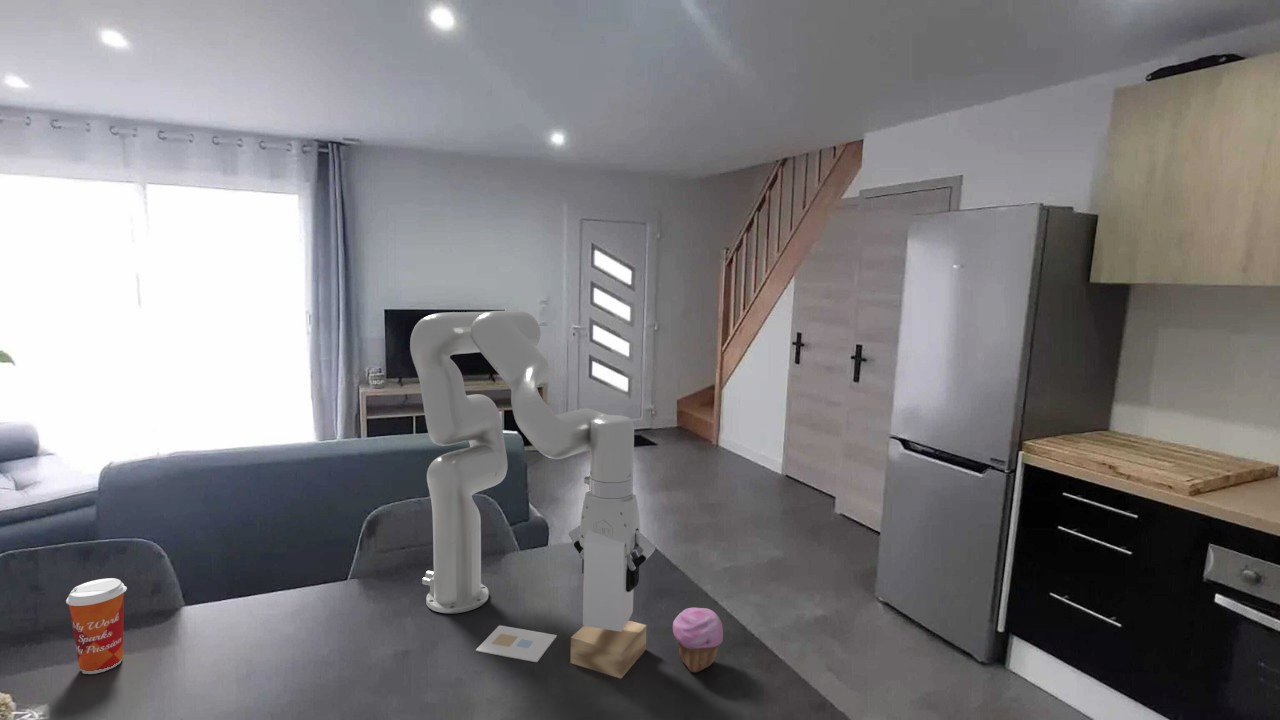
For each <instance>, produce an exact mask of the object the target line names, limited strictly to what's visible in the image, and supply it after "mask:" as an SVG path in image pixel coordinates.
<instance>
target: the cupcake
mask: <svg viewBox="0 0 1280 720" xmlns="http://www.w3.org/2000/svg"><path fill="white" fill-rule="evenodd" d="M672 633H673V635H674V638H675V640H676V641H677V644H678V651H679V659H680V660H681V662H683V664H684V665H685V666H686V667H687V669H688V670H689V672H692V673H698V672H700V671H703V670H704V669H707V668H709V667H710V666H711V665H712V664H713V663H714V661H715V659H716V657H717V653H718V650H719V647H720V645H721V644H722V642H723V640H724V629H723V622H722V620H721V619H720V617H719V616H718V614H717V613H716V612H715V611H713V610H712V609H710V608H706V607H705V608H704V607H689V608H688V607H687V608H685V609H684V610H682V611H681V612H680V613H679V614H678V615H677V616H676V617H675V619H674V620H673V622H672Z"/></svg>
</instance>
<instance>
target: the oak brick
mask: <svg viewBox="0 0 1280 720" xmlns="http://www.w3.org/2000/svg"><path fill="white" fill-rule="evenodd" d="M647 627H648V625H647V624H644V623H640V622H636V621H632V620H630V619H629V620H628V622H627V623H626V625H625V627H624V629H623V630H622V632H619V631H613V630H607V629H601V628H595V627H589V626H583V625H582V627H581V628H580V629H578V631H576V632H575V633H574V634H572V636H571V637H570V664H572V665H576V666H579V667H582V668H585V669H589V670H592V671H595V672H598V673H602V674H605V675H608V676H611V677H614V678H618V679H622V678H623V677H624V676H625V675H626V673H628V671H629V670H630V669H631V667H633V665H634V664H635V663H636V662H637V660H638V659H640V657H641V656H642V655H643V654H644V653H645V651H646V650H647Z"/></svg>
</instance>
